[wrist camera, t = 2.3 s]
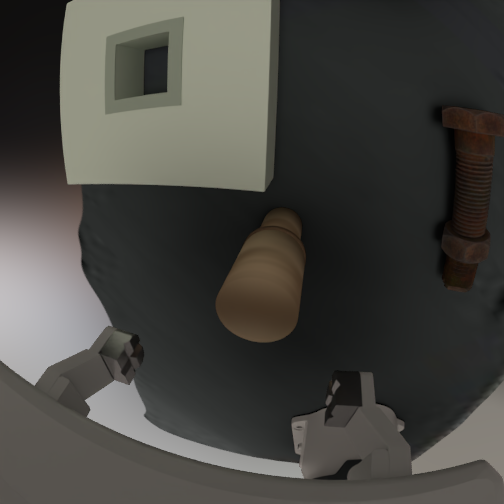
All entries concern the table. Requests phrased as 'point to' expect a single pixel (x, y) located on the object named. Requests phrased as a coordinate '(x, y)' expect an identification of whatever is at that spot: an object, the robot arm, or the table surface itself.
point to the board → (170, 93)
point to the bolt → (469, 193)
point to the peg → (265, 280)
